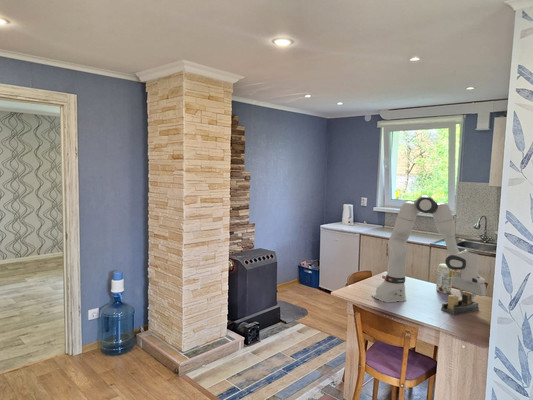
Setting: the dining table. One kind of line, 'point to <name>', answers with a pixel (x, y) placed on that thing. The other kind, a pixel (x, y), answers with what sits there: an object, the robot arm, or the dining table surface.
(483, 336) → the dining table surface
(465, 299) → the brown wooden block
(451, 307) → the grey tray with block
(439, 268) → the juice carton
